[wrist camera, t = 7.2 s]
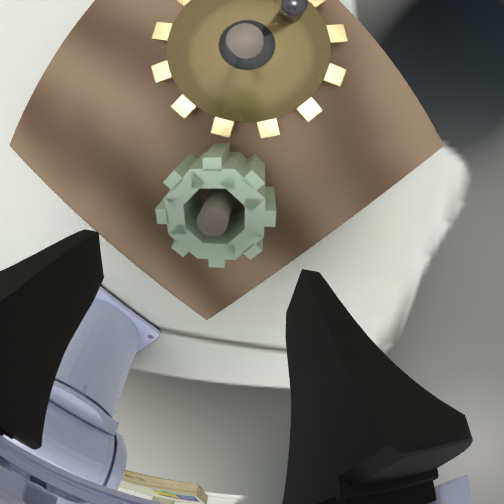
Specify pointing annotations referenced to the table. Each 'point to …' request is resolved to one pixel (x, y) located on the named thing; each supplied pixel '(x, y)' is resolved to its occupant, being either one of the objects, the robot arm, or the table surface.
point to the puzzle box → (163, 488)
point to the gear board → (201, 139)
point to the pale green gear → (240, 224)
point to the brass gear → (249, 61)
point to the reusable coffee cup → (162, 500)
